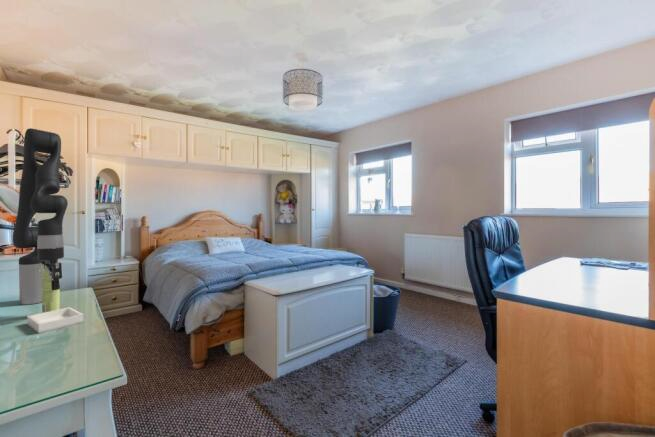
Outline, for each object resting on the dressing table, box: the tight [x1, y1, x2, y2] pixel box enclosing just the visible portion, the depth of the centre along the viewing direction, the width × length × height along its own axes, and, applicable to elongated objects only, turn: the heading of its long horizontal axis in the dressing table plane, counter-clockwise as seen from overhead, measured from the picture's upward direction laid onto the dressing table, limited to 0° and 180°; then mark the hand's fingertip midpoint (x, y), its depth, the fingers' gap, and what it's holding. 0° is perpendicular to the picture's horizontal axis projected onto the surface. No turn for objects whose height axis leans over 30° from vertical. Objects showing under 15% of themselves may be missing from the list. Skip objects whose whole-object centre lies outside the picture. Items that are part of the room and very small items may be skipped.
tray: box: [26, 306, 85, 334], centre depth 109 cm, size 14×12×3 cm
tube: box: [41, 265, 61, 313], centre depth 117 cm, size 6×5×20 cm
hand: (52, 288), depth 117 cm, fingers open, 8 cm apart
